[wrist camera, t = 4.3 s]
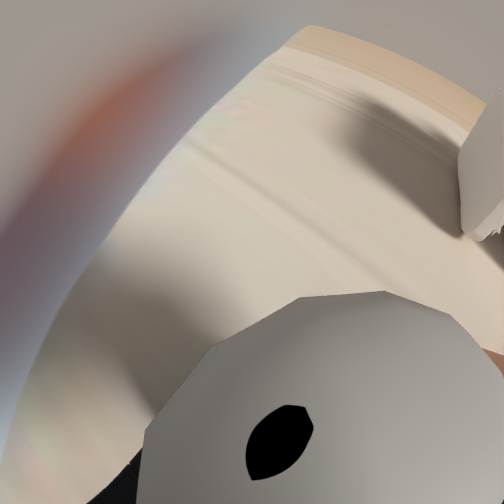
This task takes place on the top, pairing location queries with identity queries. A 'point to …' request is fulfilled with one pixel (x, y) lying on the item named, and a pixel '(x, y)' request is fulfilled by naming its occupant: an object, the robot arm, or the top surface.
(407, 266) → the top surface
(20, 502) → the top surface
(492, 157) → the cable organizer
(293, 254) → the top surface
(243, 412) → the salt shaker
